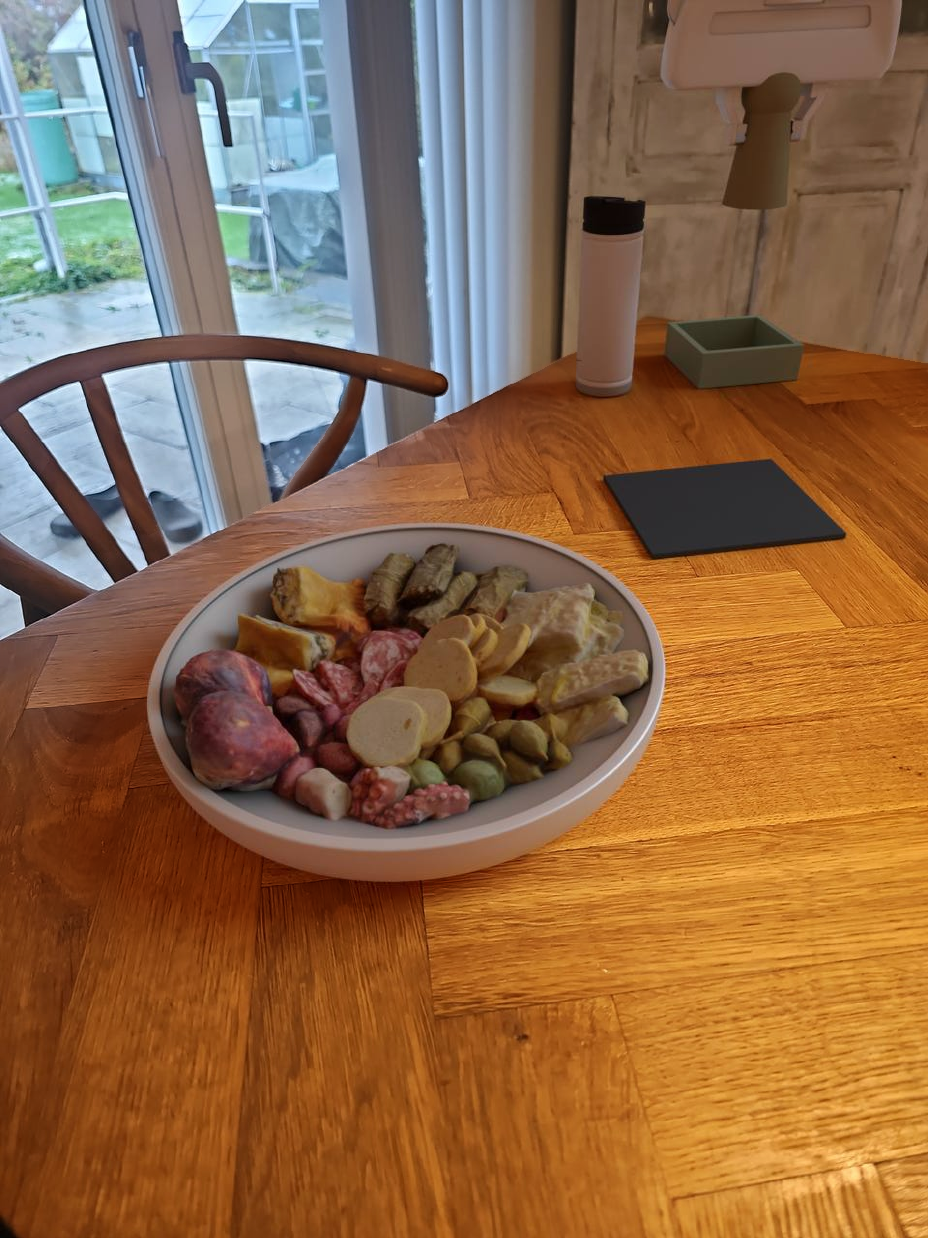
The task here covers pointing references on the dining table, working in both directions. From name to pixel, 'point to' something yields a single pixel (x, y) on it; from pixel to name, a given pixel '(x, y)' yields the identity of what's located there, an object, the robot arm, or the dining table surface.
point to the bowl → (407, 700)
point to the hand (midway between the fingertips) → (763, 142)
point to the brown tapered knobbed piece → (764, 145)
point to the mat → (719, 509)
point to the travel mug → (608, 294)
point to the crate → (732, 351)
